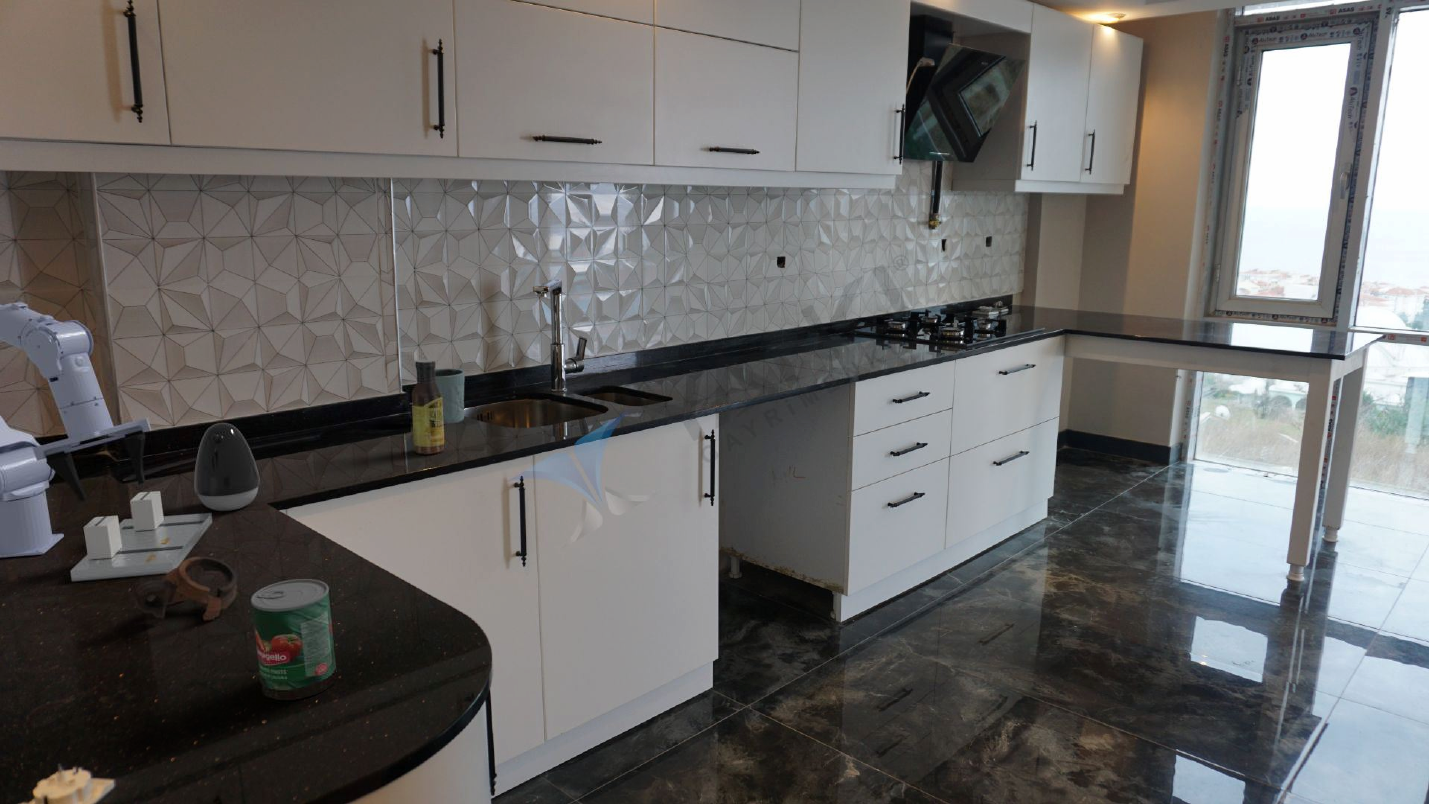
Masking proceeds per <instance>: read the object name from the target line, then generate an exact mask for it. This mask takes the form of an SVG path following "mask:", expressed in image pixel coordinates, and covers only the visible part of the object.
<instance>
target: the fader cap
mask: <svg viewBox="0 0 1429 804" xmlns="http://www.w3.org/2000/svg"><path fill="white" fill-rule="evenodd" d="M119 524H120V522H119V517H118V515H110V516H109V515H108V516H107V515H106V516H105V515H104V516H96V517H94V518H92V519H91V520H90V521H89V522H88V523H86V525H85V526H83V532H84V538H85V545H86V546H85V547H86V551H87V552H86V553H87V554H88V559H89V560H90V559H102V558H112V557H113V556H114V555H115V554H116V553H117V552H118V551H119V550H120V549H121V548H122V542H121V535H120V528H119Z"/></svg>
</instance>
